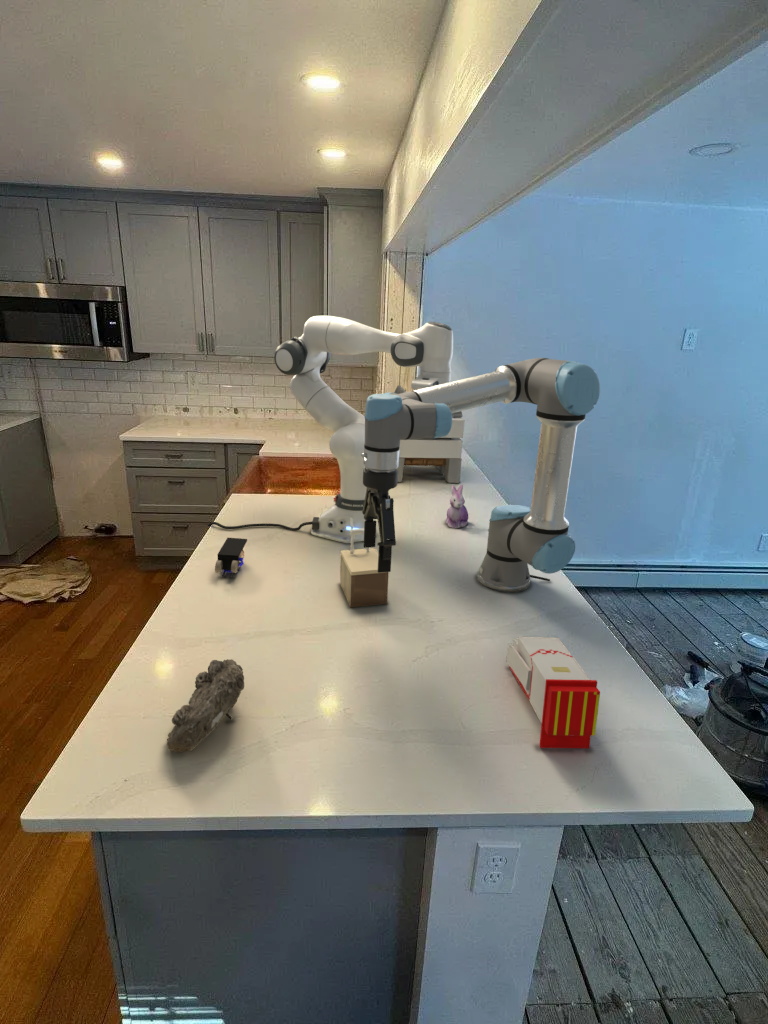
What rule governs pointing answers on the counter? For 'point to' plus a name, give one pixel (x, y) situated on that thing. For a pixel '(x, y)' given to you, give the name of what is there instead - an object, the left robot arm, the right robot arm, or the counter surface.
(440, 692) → the counter surface
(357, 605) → the chest
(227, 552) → the figurine character
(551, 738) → the toy
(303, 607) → the counter surface
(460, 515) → the figurine
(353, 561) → the lid
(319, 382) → the left robot arm
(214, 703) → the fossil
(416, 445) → the grey boxy piece
